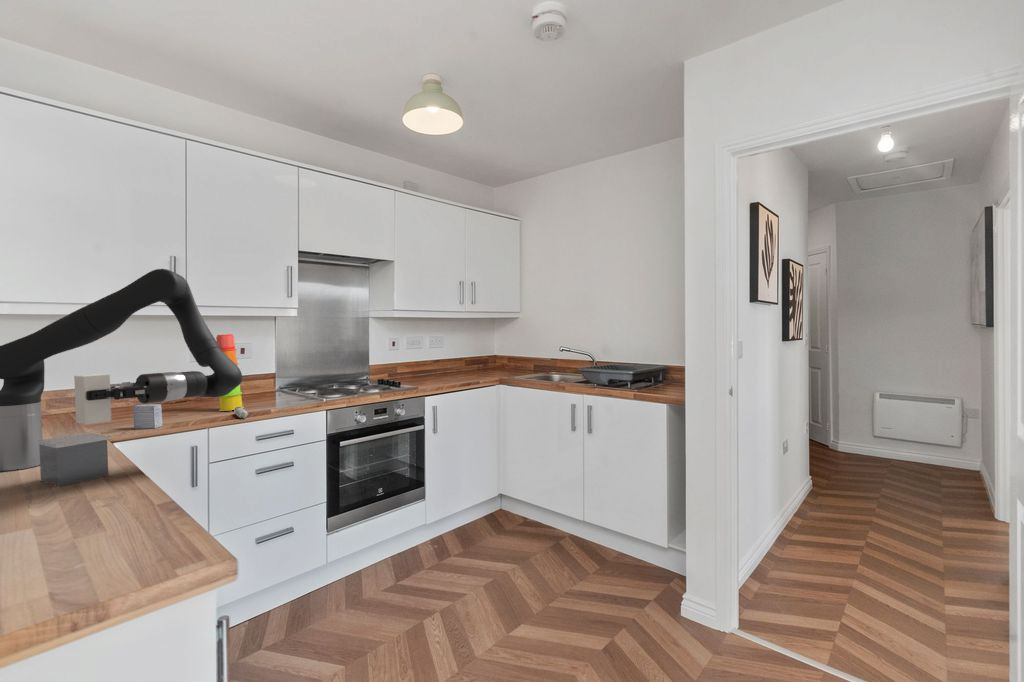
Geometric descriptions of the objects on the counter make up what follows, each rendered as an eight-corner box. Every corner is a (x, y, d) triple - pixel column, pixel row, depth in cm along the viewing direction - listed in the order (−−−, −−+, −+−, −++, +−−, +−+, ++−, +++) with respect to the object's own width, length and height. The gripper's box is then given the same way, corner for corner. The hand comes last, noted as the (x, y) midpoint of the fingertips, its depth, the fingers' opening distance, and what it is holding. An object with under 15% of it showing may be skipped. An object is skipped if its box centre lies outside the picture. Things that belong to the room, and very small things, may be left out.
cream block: (76, 422, 119) (74, 375, 119) (101, 419, 124) (99, 373, 123) (85, 424, 117) (83, 376, 116) (111, 420, 121) (109, 374, 121)
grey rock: (231, 415, 221) (231, 400, 220) (243, 413, 223) (243, 398, 223) (238, 420, 206) (237, 404, 206) (251, 419, 209) (250, 403, 209)
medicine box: (162, 426, 195) (162, 403, 195) (155, 428, 191) (154, 405, 191) (141, 426, 195) (140, 404, 195) (133, 429, 191) (132, 406, 190)
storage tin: (39, 481, 125) (37, 440, 125) (90, 470, 134) (89, 432, 134) (57, 487, 120) (55, 444, 120) (109, 475, 129) (108, 436, 129)
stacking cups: (229, 412, 226) (227, 334, 225) (213, 411, 229) (210, 334, 228) (249, 408, 235) (246, 333, 234) (232, 408, 239) (230, 334, 238)
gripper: (147, 371, 136) (67, 377, 122) (176, 373, 129) (94, 380, 114) (148, 399, 137) (68, 409, 122) (176, 403, 129) (96, 413, 115)
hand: (81, 395), depth 118 cm, fingers closed on cream block, 5 cm apart
